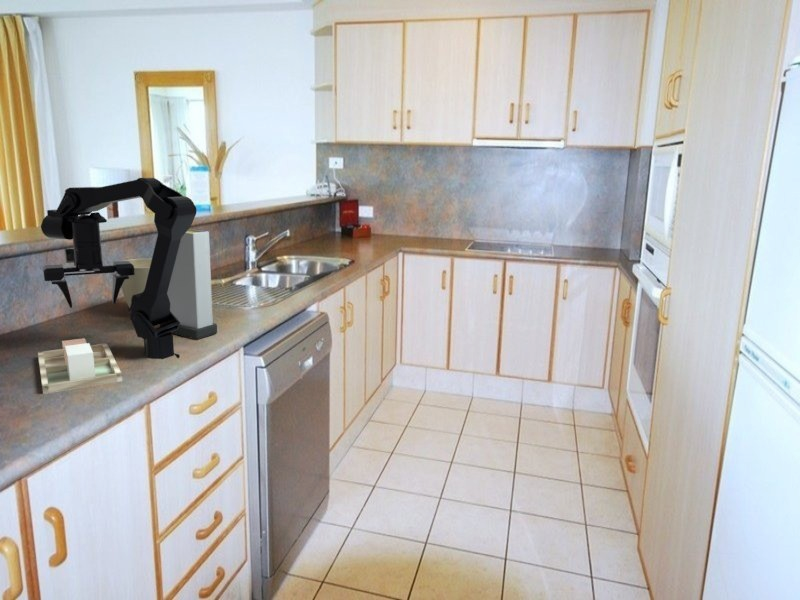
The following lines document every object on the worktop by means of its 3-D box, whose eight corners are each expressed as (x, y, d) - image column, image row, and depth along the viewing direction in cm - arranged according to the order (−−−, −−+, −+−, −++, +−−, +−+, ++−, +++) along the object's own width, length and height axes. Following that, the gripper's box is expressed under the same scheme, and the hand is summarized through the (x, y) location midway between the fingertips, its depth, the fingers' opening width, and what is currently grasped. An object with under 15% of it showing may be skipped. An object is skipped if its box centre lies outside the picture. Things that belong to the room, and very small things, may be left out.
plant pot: (107, 317, 163) (102, 264, 160) (144, 306, 177) (140, 257, 173) (149, 323, 159) (145, 269, 155) (183, 311, 173) (181, 261, 169)
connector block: (91, 369, 121) (89, 342, 119) (95, 379, 115) (93, 352, 114) (67, 372, 118) (64, 346, 117) (70, 383, 113) (67, 355, 111)
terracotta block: (88, 362, 125) (86, 343, 124) (65, 366, 123) (63, 346, 122) (86, 356, 129) (84, 338, 128) (63, 359, 126) (61, 340, 125)
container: (182, 333, 160) (164, 228, 155) (229, 333, 151) (211, 222, 146) (161, 339, 153) (141, 230, 149) (208, 340, 144) (188, 224, 140)
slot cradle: (122, 385, 116) (121, 374, 116) (43, 398, 108) (42, 386, 108) (107, 353, 135) (106, 343, 134) (38, 362, 127) (37, 351, 126)
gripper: (124, 235, 143) (129, 294, 146) (38, 238, 132) (45, 302, 136) (132, 241, 134) (137, 304, 137) (40, 244, 123) (48, 312, 127)
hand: (93, 305), depth 135 cm, fingers open, 9 cm apart
